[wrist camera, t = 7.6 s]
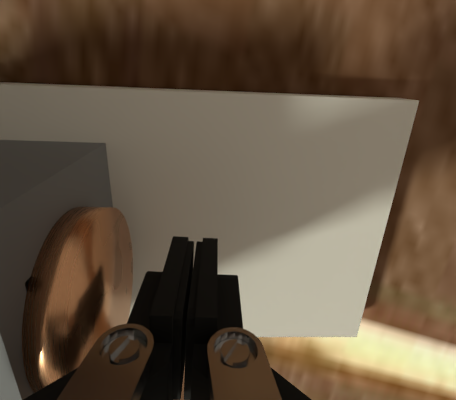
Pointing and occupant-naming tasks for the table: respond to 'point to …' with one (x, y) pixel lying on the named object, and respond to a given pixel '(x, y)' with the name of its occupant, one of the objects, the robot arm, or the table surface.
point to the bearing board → (206, 193)
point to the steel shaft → (75, 291)
